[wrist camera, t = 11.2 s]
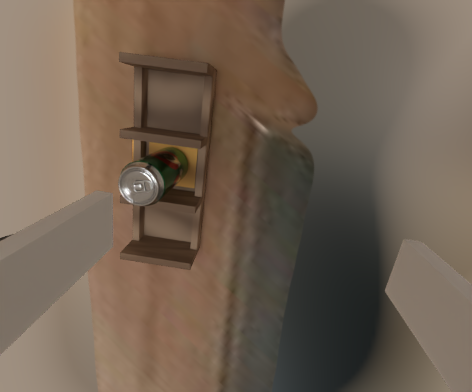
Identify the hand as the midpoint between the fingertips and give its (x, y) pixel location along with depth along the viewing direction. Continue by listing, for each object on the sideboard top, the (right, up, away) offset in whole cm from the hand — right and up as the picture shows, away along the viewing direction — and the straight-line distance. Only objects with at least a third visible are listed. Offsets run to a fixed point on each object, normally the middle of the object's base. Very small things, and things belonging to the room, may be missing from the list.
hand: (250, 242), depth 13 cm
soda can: (-10, +7, +28) cm, 31 cm away
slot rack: (-10, +7, +29) cm, 31 cm away
